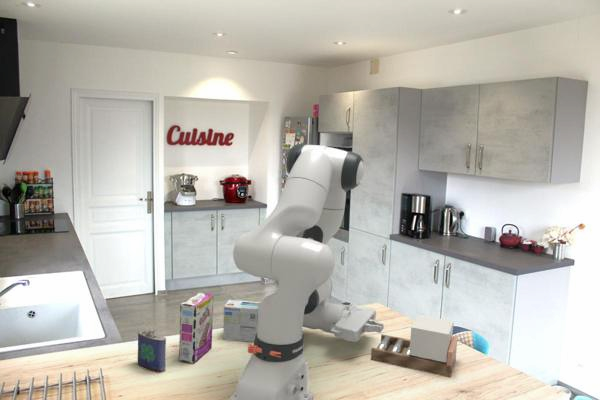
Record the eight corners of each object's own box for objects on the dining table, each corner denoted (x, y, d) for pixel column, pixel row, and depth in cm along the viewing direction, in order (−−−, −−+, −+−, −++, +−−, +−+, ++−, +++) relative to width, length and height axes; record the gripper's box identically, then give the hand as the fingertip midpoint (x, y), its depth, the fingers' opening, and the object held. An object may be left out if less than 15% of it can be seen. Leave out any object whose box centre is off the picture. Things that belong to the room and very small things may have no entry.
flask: (167, 369, 132) (167, 331, 130) (159, 374, 129) (159, 334, 128) (142, 361, 136) (142, 323, 135) (134, 365, 134) (133, 326, 132)
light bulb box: (261, 334, 158) (262, 301, 156) (257, 342, 151) (258, 308, 150) (227, 331, 159) (228, 298, 157) (222, 340, 152) (223, 305, 151)
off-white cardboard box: (409, 354, 139) (411, 327, 138) (416, 340, 149) (418, 314, 148) (446, 362, 135) (448, 334, 134) (451, 347, 145) (453, 321, 144)
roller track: (370, 359, 143) (372, 336, 142) (381, 344, 154) (382, 322, 153) (450, 377, 134) (452, 352, 133) (455, 359, 145) (457, 336, 144)
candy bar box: (194, 364, 135) (195, 306, 133) (178, 361, 137) (178, 303, 135) (213, 348, 146) (214, 293, 144) (197, 345, 147) (198, 291, 145)
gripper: (326, 320, 142) (373, 330, 137) (349, 300, 161) (391, 307, 155) (325, 341, 143) (372, 351, 138) (348, 318, 162) (390, 327, 156)
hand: (382, 328), depth 147 cm, fingers closed
